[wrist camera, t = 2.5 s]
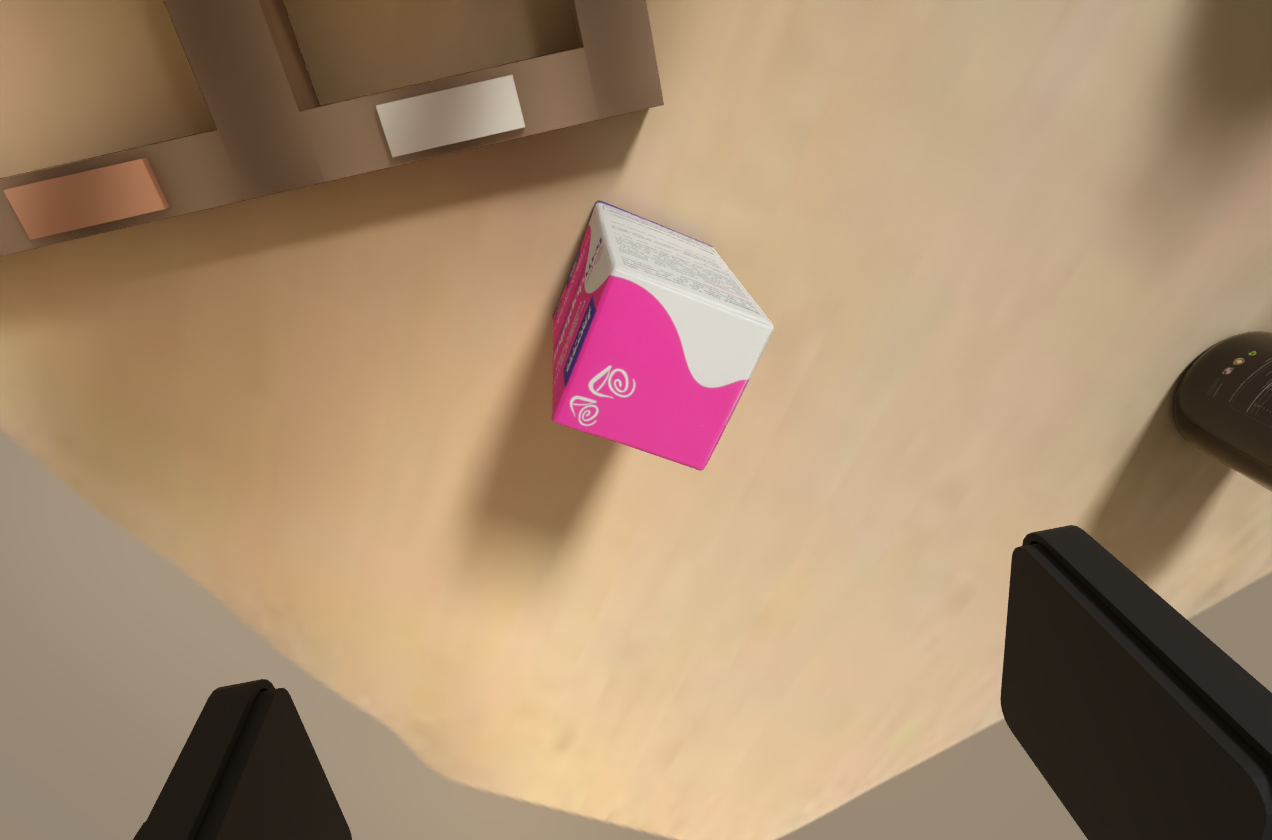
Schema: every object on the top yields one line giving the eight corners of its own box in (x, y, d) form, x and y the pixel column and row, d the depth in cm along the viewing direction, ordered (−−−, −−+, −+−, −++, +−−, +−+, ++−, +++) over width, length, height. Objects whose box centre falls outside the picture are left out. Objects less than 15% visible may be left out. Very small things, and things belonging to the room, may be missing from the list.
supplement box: (591, 195, 34) (616, 261, 23) (714, 245, 35) (788, 327, 25) (545, 317, 36) (549, 426, 26) (663, 359, 37) (712, 478, 27)
